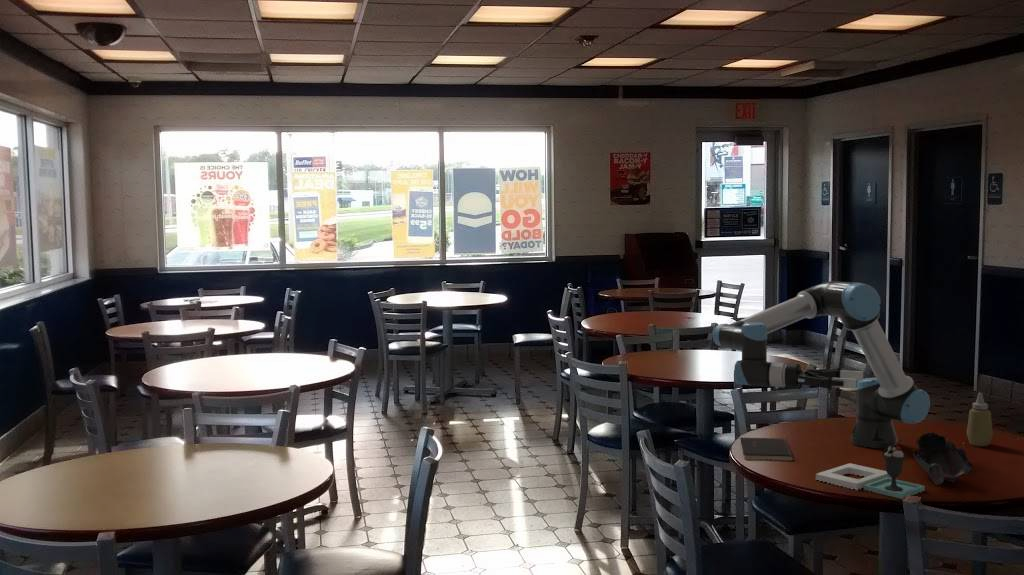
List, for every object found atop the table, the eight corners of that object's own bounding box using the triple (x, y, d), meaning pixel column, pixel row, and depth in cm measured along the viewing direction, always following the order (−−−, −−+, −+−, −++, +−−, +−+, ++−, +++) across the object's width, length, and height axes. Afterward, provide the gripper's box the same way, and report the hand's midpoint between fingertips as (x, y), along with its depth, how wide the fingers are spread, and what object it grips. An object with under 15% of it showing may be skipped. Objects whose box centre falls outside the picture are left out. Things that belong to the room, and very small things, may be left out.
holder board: (849, 469, 298) (849, 463, 298) (890, 478, 287) (890, 472, 287) (815, 480, 287) (815, 473, 287) (857, 490, 276) (857, 483, 276)
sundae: (908, 492, 271) (908, 441, 270) (883, 491, 272) (883, 440, 271) (904, 486, 277) (904, 435, 276) (879, 485, 279) (879, 435, 278)
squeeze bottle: (967, 446, 322) (968, 394, 321) (965, 441, 330) (966, 390, 328) (993, 448, 319) (994, 396, 318) (991, 442, 327) (992, 391, 325)
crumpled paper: (981, 485, 276) (944, 470, 296) (975, 436, 276) (939, 424, 295) (935, 492, 275) (901, 476, 295) (930, 442, 274) (896, 430, 294)
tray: (886, 481, 284) (886, 477, 284) (924, 490, 274) (924, 486, 274) (863, 489, 277) (863, 485, 277) (902, 499, 267) (902, 494, 267)
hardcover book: (743, 460, 313) (743, 454, 313) (740, 443, 336) (740, 437, 335) (793, 462, 310) (793, 455, 310) (786, 445, 333) (786, 438, 332)
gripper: (794, 380, 299) (865, 385, 289) (776, 395, 277) (852, 400, 267) (794, 357, 298) (865, 360, 288) (776, 369, 277) (852, 374, 266)
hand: (859, 379), depth 278 cm, fingers open, 13 cm apart
